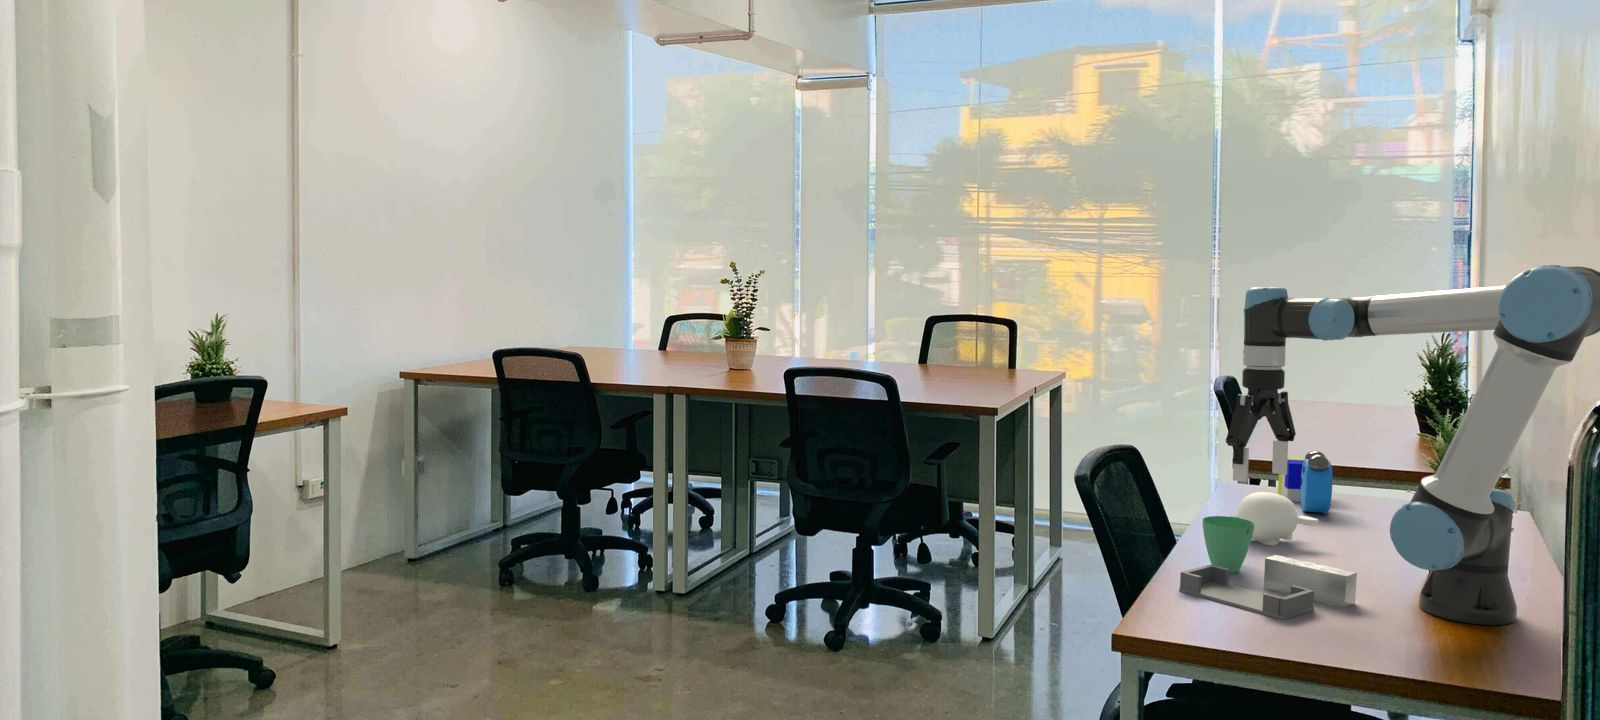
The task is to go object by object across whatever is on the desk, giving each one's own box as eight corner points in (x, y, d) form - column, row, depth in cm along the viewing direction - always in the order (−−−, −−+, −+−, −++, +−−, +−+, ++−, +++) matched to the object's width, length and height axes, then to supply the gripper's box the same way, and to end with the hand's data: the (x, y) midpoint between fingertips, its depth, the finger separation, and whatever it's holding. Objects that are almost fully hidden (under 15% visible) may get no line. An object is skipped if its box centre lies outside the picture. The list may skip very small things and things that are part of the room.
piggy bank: (1244, 553, 253) (1309, 558, 255) (1258, 506, 249) (1324, 511, 250) (1221, 524, 265) (1283, 529, 266) (1234, 479, 260) (1298, 484, 262)
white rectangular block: (1354, 604, 212) (1356, 572, 211) (1344, 608, 209) (1346, 576, 209) (1274, 585, 224) (1275, 554, 223) (1263, 588, 221) (1265, 558, 221)
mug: (1248, 579, 227) (1251, 529, 226) (1196, 572, 231) (1198, 523, 230) (1257, 562, 239) (1260, 515, 238) (1208, 556, 244) (1210, 509, 243)
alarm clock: (1330, 518, 282) (1334, 457, 281) (1303, 516, 284) (1306, 456, 283) (1324, 508, 295) (1328, 449, 293) (1298, 506, 297) (1301, 448, 295)
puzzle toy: (1287, 501, 302) (1289, 463, 302) (1277, 493, 312) (1279, 457, 311) (1327, 503, 301) (1329, 465, 300) (1317, 495, 311) (1319, 458, 310)
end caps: (1313, 610, 207) (1314, 590, 207) (1283, 620, 201) (1284, 599, 201) (1209, 582, 224) (1210, 564, 224) (1178, 590, 218) (1179, 572, 218)
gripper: (1280, 363, 233) (1277, 468, 234) (1208, 369, 218) (1205, 481, 219) (1316, 366, 227) (1313, 473, 228) (1244, 372, 212) (1241, 487, 213)
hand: (1260, 477), depth 224 cm, fingers open, 13 cm apart
